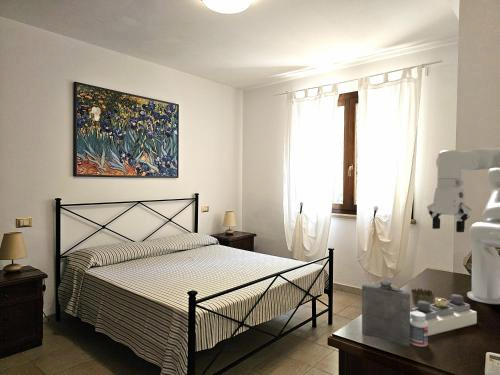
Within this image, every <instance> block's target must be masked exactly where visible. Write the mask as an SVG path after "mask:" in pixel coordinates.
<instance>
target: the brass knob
mask: <svg viewBox="0 0 500 375" xmlns="http://www.w3.org/2000/svg"><path fill="white" fill-rule="evenodd" d="M447 301H448V299H447V298H444V297H435V298H434V304H435V307H437V308H440V309H447Z"/></svg>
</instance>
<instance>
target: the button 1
mask: <svg viewBox="0 0 500 375" xmlns="http://www.w3.org/2000/svg"><path fill="white" fill-rule="evenodd" d="M418 311H420V312H424V313H429V312H430V303H429V302H426V301H418Z"/></svg>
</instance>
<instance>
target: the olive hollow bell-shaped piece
mask: <svg viewBox="0 0 500 375" xmlns="http://www.w3.org/2000/svg"><path fill="white" fill-rule="evenodd" d="M410 293H411V298H412V299H411V300H412V303H413V305H414V306H415V307H414V308H416V307H418V301H426V302H429V303H430V305H431V304H434V303H433V302H434V297H435V296H434V295H435V293H434V292H433V291H432V290H430V289H428V290H427V289H424V290H423V288H419V287H418V288H414V289H413V288H412V289H411V292H410Z"/></svg>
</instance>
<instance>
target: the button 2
mask: <svg viewBox="0 0 500 375" xmlns="http://www.w3.org/2000/svg"><path fill="white" fill-rule="evenodd" d="M450 300H451V303H452V304H454V305H463V302H464V296H462V294H455V293H453V294H451V295H450Z"/></svg>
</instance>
